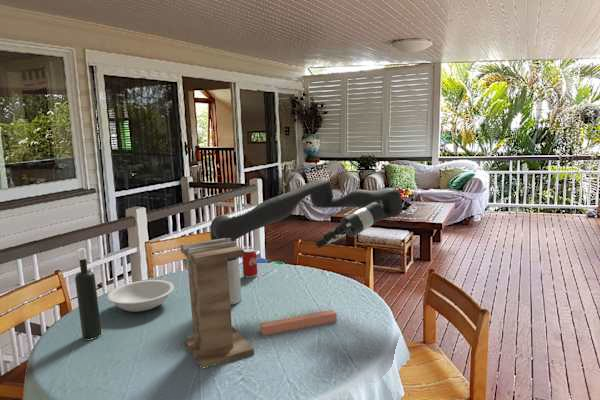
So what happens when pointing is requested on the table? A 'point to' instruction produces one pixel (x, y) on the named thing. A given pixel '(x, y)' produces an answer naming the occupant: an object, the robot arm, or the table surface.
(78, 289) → the wine bottle
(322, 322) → the stick
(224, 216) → the robot arm
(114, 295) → the soup bowl
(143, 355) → the table surface
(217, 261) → the wooden pedestal
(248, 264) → the beverage can
